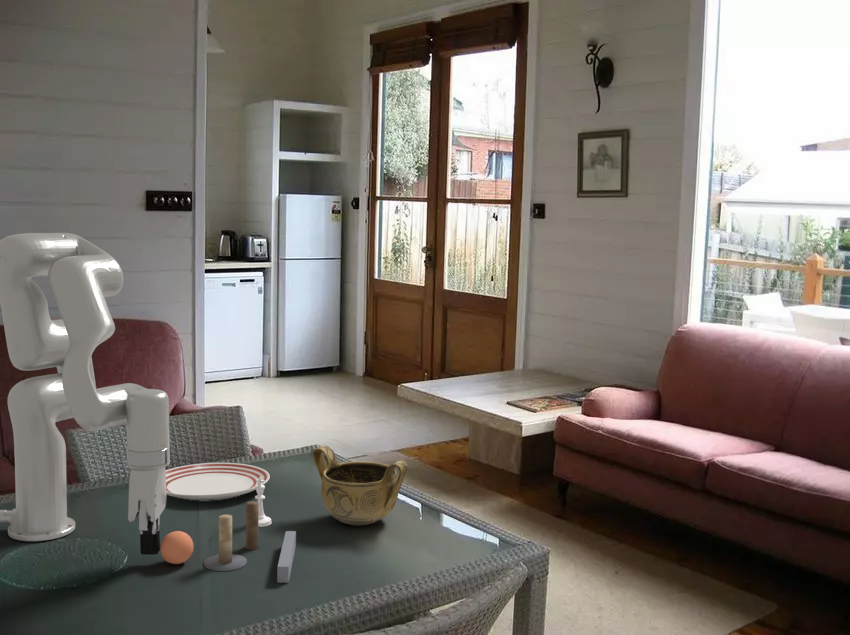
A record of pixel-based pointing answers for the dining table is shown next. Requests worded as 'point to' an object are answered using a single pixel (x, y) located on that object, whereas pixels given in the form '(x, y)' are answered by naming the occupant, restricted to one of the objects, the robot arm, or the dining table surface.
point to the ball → (176, 547)
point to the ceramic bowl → (358, 487)
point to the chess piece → (261, 504)
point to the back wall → (286, 557)
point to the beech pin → (225, 539)
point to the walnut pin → (252, 524)
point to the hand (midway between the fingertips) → (150, 552)
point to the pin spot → (214, 564)
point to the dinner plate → (213, 480)
